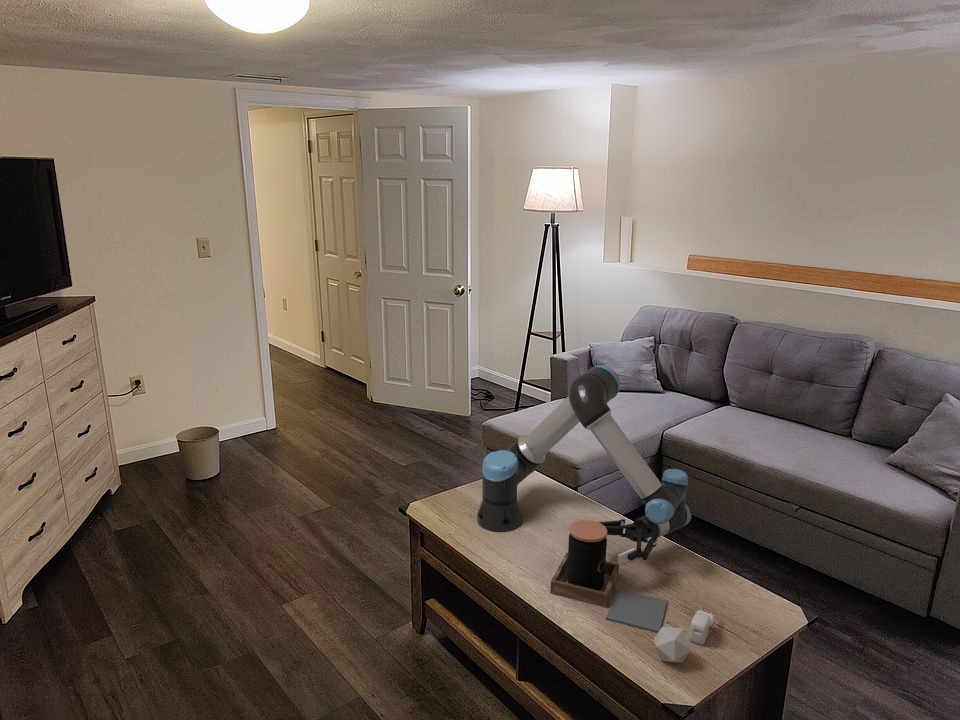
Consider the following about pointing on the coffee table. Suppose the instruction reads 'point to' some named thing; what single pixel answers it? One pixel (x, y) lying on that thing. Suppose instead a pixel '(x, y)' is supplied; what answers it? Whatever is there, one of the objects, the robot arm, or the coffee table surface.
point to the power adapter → (701, 626)
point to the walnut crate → (582, 592)
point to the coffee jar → (587, 554)
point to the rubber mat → (637, 610)
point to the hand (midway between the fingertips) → (600, 548)
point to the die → (672, 644)
